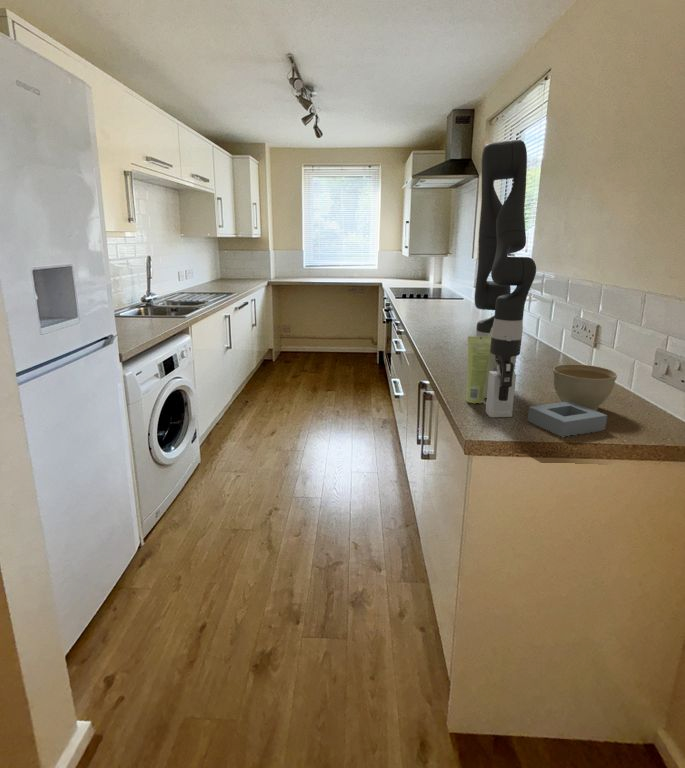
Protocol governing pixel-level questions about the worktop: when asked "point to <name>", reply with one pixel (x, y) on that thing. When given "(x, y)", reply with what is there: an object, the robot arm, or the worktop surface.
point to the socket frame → (567, 418)
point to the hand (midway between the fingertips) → (500, 395)
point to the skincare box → (493, 403)
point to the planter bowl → (583, 384)
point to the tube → (477, 367)
